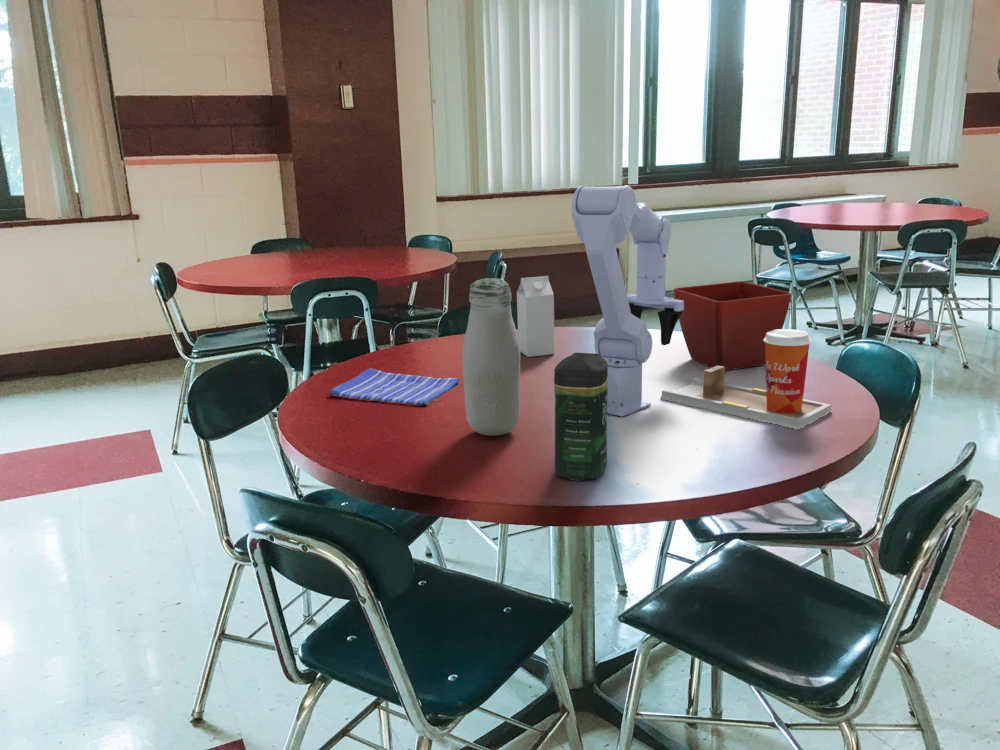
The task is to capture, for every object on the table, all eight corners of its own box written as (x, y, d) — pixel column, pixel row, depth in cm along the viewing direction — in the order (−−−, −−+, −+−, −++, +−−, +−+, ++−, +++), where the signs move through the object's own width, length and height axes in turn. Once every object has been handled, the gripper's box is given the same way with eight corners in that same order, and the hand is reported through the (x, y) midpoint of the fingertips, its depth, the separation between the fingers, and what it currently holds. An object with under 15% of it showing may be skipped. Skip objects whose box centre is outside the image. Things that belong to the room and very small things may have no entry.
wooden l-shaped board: (795, 422, 144) (797, 392, 143) (693, 399, 159) (694, 372, 157) (819, 410, 150) (821, 381, 149) (719, 389, 165) (720, 362, 163)
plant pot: (714, 377, 176) (717, 300, 171) (670, 357, 193) (671, 287, 189) (789, 367, 181) (794, 293, 177) (739, 349, 199) (742, 281, 194)
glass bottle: (462, 442, 141) (454, 283, 134) (472, 423, 151) (465, 274, 144) (518, 443, 140) (513, 282, 132) (524, 424, 150) (520, 273, 142)
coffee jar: (601, 484, 122) (601, 365, 117) (550, 480, 124) (548, 363, 119) (611, 461, 131) (612, 349, 126) (563, 457, 133) (562, 347, 128)
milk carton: (518, 351, 204) (516, 276, 199) (544, 348, 206) (543, 274, 201) (527, 357, 198) (525, 280, 192) (554, 354, 200) (553, 277, 194)
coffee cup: (752, 413, 150) (755, 334, 146) (773, 402, 156) (776, 326, 152) (795, 422, 145) (800, 340, 141) (816, 410, 150) (820, 331, 146)
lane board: (798, 430, 142) (799, 419, 141) (660, 398, 162) (660, 389, 162) (831, 412, 151) (832, 402, 150) (696, 384, 171) (696, 375, 170)
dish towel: (369, 378, 186) (368, 366, 185) (462, 386, 177) (461, 374, 176) (326, 399, 171) (325, 387, 170) (426, 410, 162) (425, 396, 161)
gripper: (693, 276, 162) (691, 342, 165) (633, 270, 171) (632, 333, 175) (673, 281, 157) (671, 349, 160) (613, 275, 167) (612, 339, 170)
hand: (649, 341), depth 167 cm, fingers open, 7 cm apart
